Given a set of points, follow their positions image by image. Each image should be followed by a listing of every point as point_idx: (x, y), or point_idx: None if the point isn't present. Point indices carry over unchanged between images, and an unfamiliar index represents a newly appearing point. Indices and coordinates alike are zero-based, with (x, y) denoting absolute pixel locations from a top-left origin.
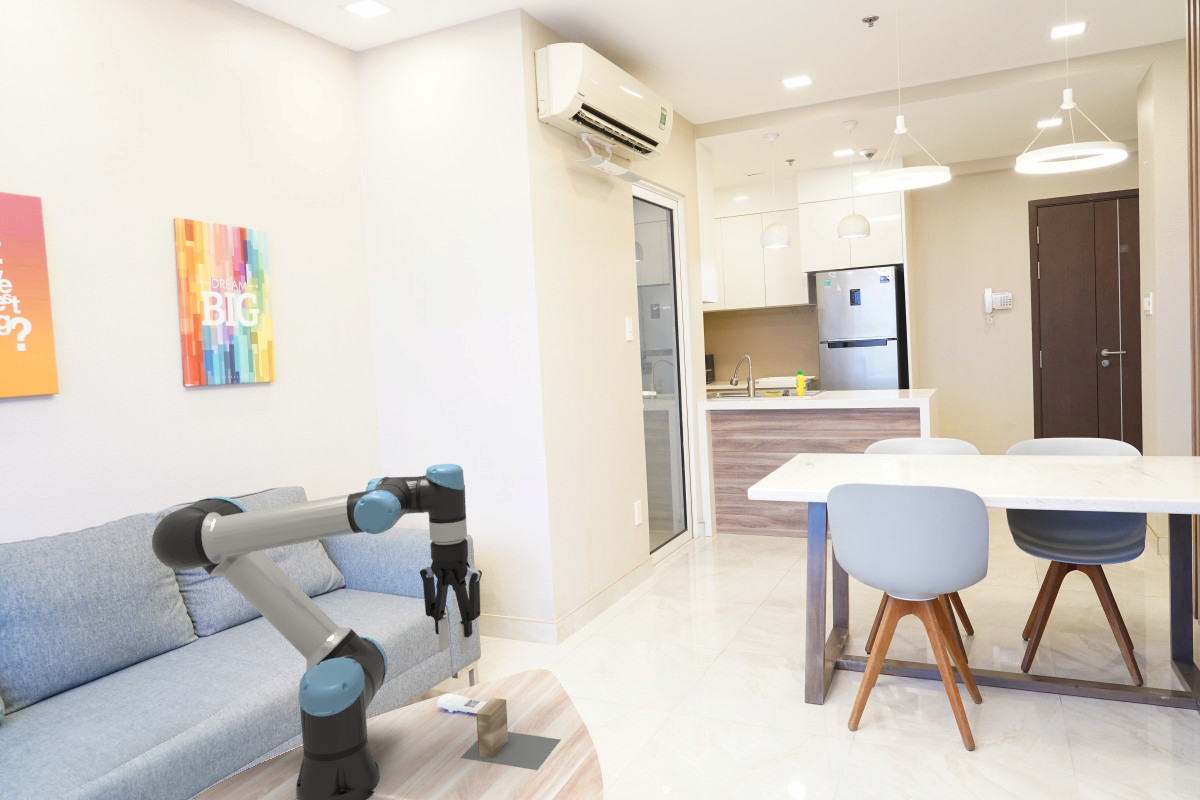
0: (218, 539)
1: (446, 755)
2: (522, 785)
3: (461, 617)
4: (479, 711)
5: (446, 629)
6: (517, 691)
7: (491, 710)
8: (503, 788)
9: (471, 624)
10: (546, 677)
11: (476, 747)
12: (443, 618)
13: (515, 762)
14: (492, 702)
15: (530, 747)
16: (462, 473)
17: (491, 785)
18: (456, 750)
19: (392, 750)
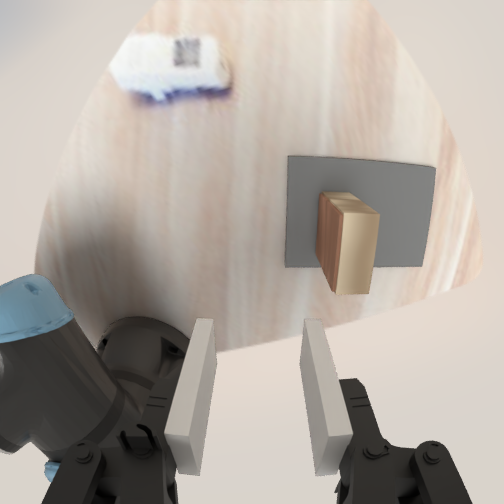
0: None
1: (248, 253)
2: (404, 295)
3: (338, 498)
4: (337, 286)
5: (202, 398)
6: None
7: (363, 274)
8: (380, 308)
9: (375, 425)
10: None
11: (298, 229)
12: (179, 451)
13: (385, 256)
14: (352, 237)
15: (396, 205)
16: None
17: (361, 307)
18: (257, 233)
19: (145, 263)
